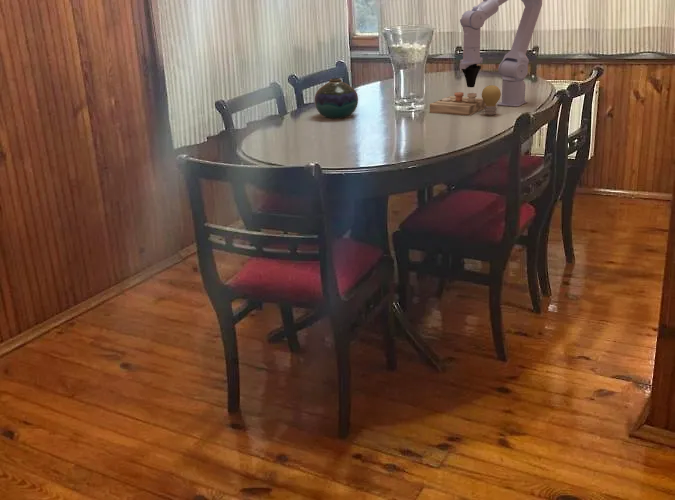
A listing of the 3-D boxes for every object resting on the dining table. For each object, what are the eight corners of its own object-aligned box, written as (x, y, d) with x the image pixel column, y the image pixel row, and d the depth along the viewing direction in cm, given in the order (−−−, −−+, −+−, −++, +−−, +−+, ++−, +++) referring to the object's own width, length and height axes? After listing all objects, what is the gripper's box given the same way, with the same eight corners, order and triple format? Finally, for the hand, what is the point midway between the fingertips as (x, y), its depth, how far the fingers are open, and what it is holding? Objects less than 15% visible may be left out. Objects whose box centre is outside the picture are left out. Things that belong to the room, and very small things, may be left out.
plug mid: (456, 99, 266) (456, 91, 265) (464, 100, 264) (465, 92, 263) (452, 101, 263) (452, 93, 262) (461, 101, 261) (461, 94, 260)
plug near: (469, 100, 263) (469, 92, 262) (477, 101, 261) (478, 93, 260) (465, 102, 261) (465, 94, 259) (474, 102, 259) (474, 94, 258)
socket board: (449, 104, 275) (449, 96, 274) (487, 107, 267) (487, 98, 266) (429, 112, 263) (429, 104, 262) (468, 115, 255) (468, 107, 254)
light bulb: (500, 116, 251) (501, 86, 248) (480, 116, 253) (481, 87, 249) (499, 112, 257) (501, 83, 253) (481, 112, 258) (482, 83, 255)
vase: (308, 120, 259) (306, 82, 254) (325, 111, 272) (323, 75, 267) (349, 122, 253) (348, 83, 248) (364, 113, 266) (363, 75, 261)
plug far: (444, 105, 269) (444, 97, 268) (452, 105, 267) (452, 98, 266) (440, 106, 267) (440, 99, 266) (448, 107, 265) (448, 99, 264)
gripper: (470, 44, 262) (469, 83, 267) (451, 49, 251) (451, 89, 256) (488, 44, 258) (487, 84, 263) (470, 50, 247) (469, 91, 252)
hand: (470, 87), depth 259 cm, fingers closed
